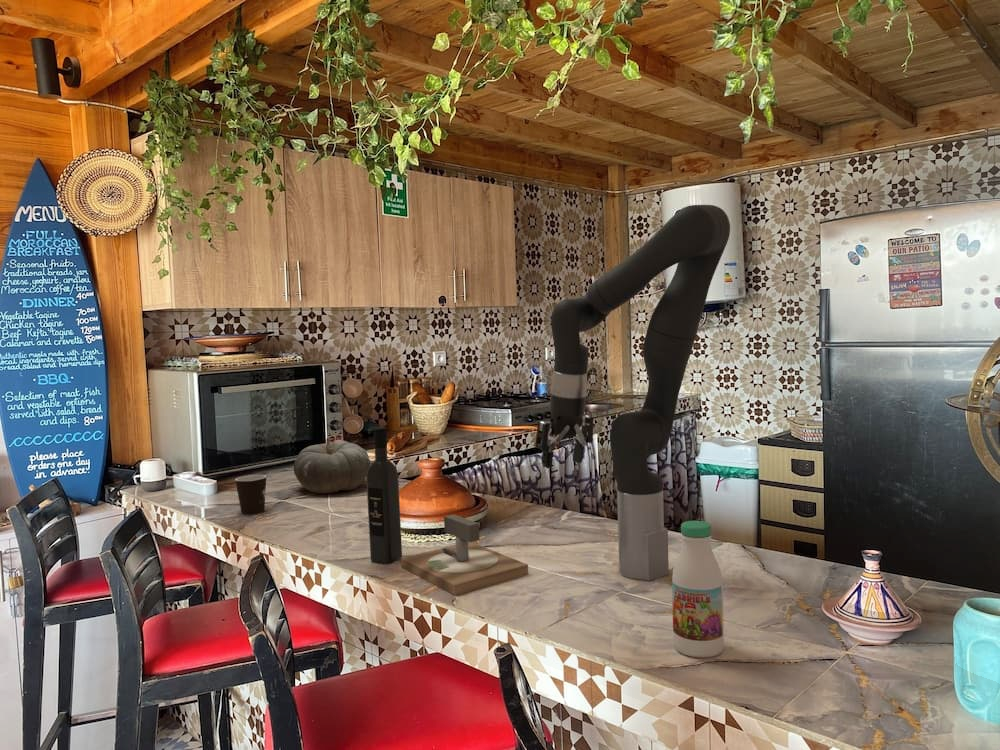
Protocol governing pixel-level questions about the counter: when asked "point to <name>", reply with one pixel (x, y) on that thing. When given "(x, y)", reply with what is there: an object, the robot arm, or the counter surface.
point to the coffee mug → (251, 493)
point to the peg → (461, 535)
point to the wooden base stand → (464, 568)
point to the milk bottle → (697, 594)
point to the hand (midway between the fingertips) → (562, 464)
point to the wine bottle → (383, 504)
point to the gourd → (331, 467)
